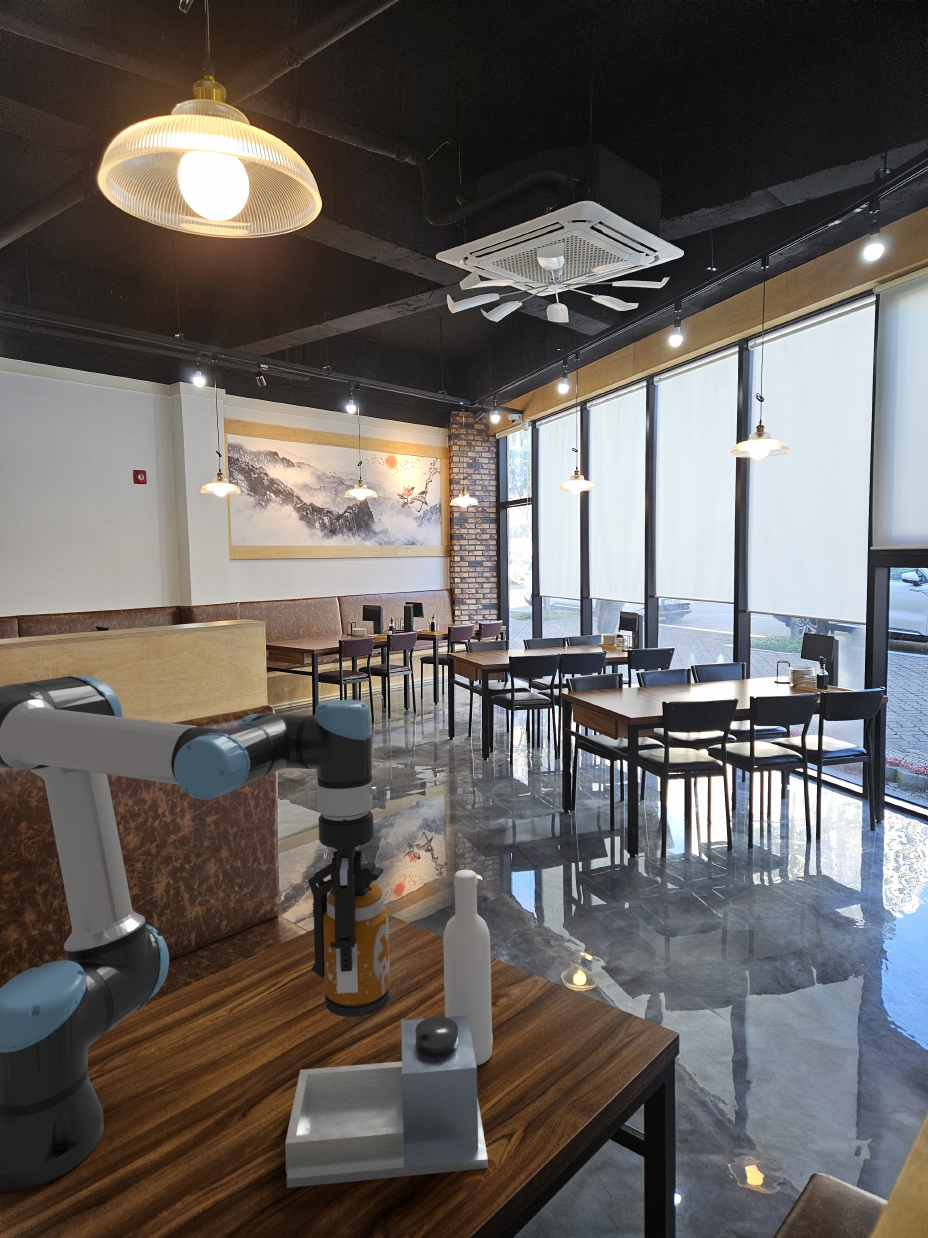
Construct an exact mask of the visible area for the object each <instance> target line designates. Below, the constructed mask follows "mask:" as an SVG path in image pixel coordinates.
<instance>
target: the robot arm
mask: <svg viewBox="0 0 928 1238" xmlns="http://www.w3.org/2000/svg"><path fill="white" fill-rule="evenodd" d="M122 708H123V707H122V704H121V701H120V698H119V697H118V695H117V693H116V692H115V690H113V689H112V688H111V686H110V685H108V684H107V683H105V682H104V681H102V680H101V679H99V678H97V677H94V676H89V675H69V676H62V677H56V678H50V679H42V680H35V681H27V682H19V683H18V682H17V683H10V684H5V685H2V686H0V767H2V768H8V769H16V770H22V771H23V770H24V771H25V770H30V771H31V773H33V774H35V775H36V776H39V777H40V778H42V780H43V781H44V784H45V790H46V795H47V801H48V806H49V807H48V808H49V811H50V817H51V823H52V827H53V833H54V839H55V844H56V849H57V854H58V860H59V864H60V865H59V866H60V871H61V876H62V881H63V885H64V893H65V897H66V904H67V909H68V915H69V919H70V924H71V933H70V934H69V936H68V937H67V939H66V941H65V942H64V944H63V950H64V955H65V959H64V960H63V959H62V960H54V961H49V962H45V963H42V965H40V966H38V967H36V966H33V967H31V968H29V969H26V970H24V971H22V972H20V973H19V974H17V975H16V976H14V977H13V978H11V979H9V980H8V981H7V982H6V983H5V984H4V985H2V986H1V987H0V1192H2V1193H4V1192H5V1193H12V1192H20V1191H25V1190H29V1189H33V1188H36V1187H38V1186H42V1185H45V1184H47V1183H50V1182H52V1181H53V1180H55V1179H58V1178H59V1177H61V1176H63V1175H65V1174H67V1173H68V1172H70V1171H71V1170H73V1169H74V1168H76V1167H77V1166H78V1165H80V1164H81V1163H82V1162H83V1161H84V1160H85V1159H86V1158H88V1157H89V1156H90V1154H91V1153H92V1152H93V1151H94V1150H95V1148H97V1146H98V1144H99V1142H100V1141H101V1138H102V1136H103V1133H104V1124H105V1121H104V1109H103V1107H102V1104H101V1102H100V1100H99V1098H98V1095H97V1093H96V1091H95V1088H94V1086H93V1084H92V1082H91V1080H90V1077H89V1067H88V1066H89V1065H88V1064H89V1063H88V1049H89V1047H90V1046H91V1045H92V1044H94V1043H95V1042H96V1041H98V1040H99V1039H100V1038H101V1037H103V1036H105V1034H107V1033H108V1032H110V1031H111V1030H112V1029H113V1028H115V1027H116V1026H117V1025H119V1024H120V1023H121V1022H123V1021H124V1020H125V1019H127V1018H128V1017H129V1016H131V1015H132V1014H133V1013H134V1012H137V1011H139V1010H140V1009H142V1008H143V1007H144V1006H145V1005H146V1004H147V1003H148V1002H149V1000H151V999H152V997H153V996H155V995H156V994H157V993H158V992H159V991H160V989H161V988H162V986H163V984H164V983H165V982H166V978H167V976H168V972H169V965H170V955H169V949H168V945H167V943H166V940H165V939H164V937H163V935H158V933H159V931H158V930H157V929H156V928H154V926H152V925H150V924H147V922H146V918H145V916H144V915H142V914H139V913H137V912H136V911H134V910H133V905H132V901H131V896H130V895H131V894H130V891H129V884H128V879H127V874H126V868H125V863H124V858H123V852H122V847H121V843H120V841H121V840H120V836H119V831H118V825H117V821H116V820H117V819H116V816H115V810H114V804H113V798H112V794H111V789H110V784H109V779H108V775H110V776H118V777H124V778H131V779H132V778H133V779H136V780H137V779H138V780H143V781H144V780H145V781H146V780H147V781H152V782H153V781H154V782H158V783H165V784H172V785H174V784H175V785H178V786H179V787H180V788H181V791H183V792H185V793H187V794H188V795H189V796H190V797H191V798H194V799H198V800H211V799H214V798H217V797H223V796H226V795H230V793H233V792H235V791H236V790H238V789H239V788H241V787H243V786H246V785H248V784H250V783H252V782H256V781H257V780H259V779H262V778H264V777H267V776H269V775H271V774H274V773H276V772H278V771H281V770H283V769H301V770H302V769H304V770H316V776H317V777H316V778H317V784H316V786H317V787H316V789H317V792H316V793H317V795H316V797H317V812H318V813H319V814H320V816H318V840H319V842H320V844H321V845H323V846H325V847H327V848H333V849H335V850H333V853H332V854H333V855H332V856H333V857H331V863H332V870H333V889H334V890H335V942H330V946H331V947H335V949H336V969H337V994H338V993H352V992H358V969H357V941H356V938H355V892H356V890H358V889H359V870H360V869H361V863H363V861H362V860H363V859H362V858H363V852H362V849H359V847H360V846H364V845H366V844H368V843H369V842H371V841H372V840H373V839H374V813H373V812H372V811H371V810H372V809H373V806H374V805H373V795H376V794H377V793H378V789H377V787H375V786H372V784H373V775H372V773H373V772H372V770H373V769H372V764H373V763H372V761H373V760H372V736H373V731H372V725H371V715H370V714H371V713H370V708H369V705H368V704H367V703H366V702H364V701H362V700H357V699H343V700H341V699H340V700H338V699H337V700H336V699H335V700H327V701H322V702H319V703H318V704H317V705H316V707H315V713H314V715H313V714H312V715H311V714H309V715H305V714H283V713H280V714H279V713H274V712H265V713H255V714H254V713H252V714H249V715H246V716H244V717H243V718H242V719H241V722H240V723H238V724H237V725H236V726H233V727H229V728H216V727H215V728H213V727H207V726H197V725H192V724H191V725H190V724H181V723H173V722H165V721H158V720H157V721H156V720H147V719H140V718H139V719H138V718H131V717H123V715H124V714H123V709H122ZM354 879H355V883H354Z"/></svg>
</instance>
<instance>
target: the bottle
mask: <svg viewBox="0 0 928 1238" xmlns="http://www.w3.org/2000/svg"><path fill="white" fill-rule="evenodd" d="M477 885H478V879H477V873H476V872H475V871H474V870H471V869H461V870H458V871H456V872H455V873H454V880H453V886H454V905H455V906H454V911H455V914H454V915H453V916H452V917H451V918H449V919H448V921H447V922H446V925H445V928H444V931H443V938H442V939H443V941H442V942H443V975H444V976H443V977H444V978H443V980H444V981H443V983H444V984H443V985H444V987H443V988H444V1017H454V1016H467V1015H468V1020H469V1026H470V1032H471V1037H472V1043H473V1049H474V1055H475V1060H476V1066H477V1067H478V1066H480V1065H482V1064H485V1063H486V1062H487V1061H489V1060H490V1059H491V1057H492V1054H493V1046H494V1045H493V1044H494V1040H493V1039H494V1038H493V1022H492V1020H493V1019H492V1016H493V1015H492V971H491V970H492V969H491V967H492V966H491V965H492V964H491V961H492V960H491V934H490V931H489V930H490V929H489V928H488V924H487V921H486V920H484V919H483V918H482V916H480V915H479V914H478V906H477V905H478V900H477V898H478V897H477V896H478V895H477V894H478V893H477V892H478V891H477V890H478V889H477Z"/></svg>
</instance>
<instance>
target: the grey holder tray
mask: <svg viewBox="0 0 928 1238" xmlns="http://www.w3.org/2000/svg"><path fill="white" fill-rule="evenodd" d="M400 1022H401V1023H400V1024H401V1033H400V1034H401V1036H400V1037H401V1061H392V1062H391V1061H390V1062H389V1061H388V1062H381V1063H380V1062H378V1063H367V1064H365V1063H364V1064H356V1065H343V1066H330V1067H320V1068H319V1067H318V1068H306V1069H300V1070H299V1075H298V1080H297V1084H296V1088H295V1089H296V1090H295V1094H294V1099H293V1105H292V1109H291V1115H290V1118H289V1124H288V1129H287V1133H286V1139H285V1144H284V1145H285V1147H284V1148H285V1175H286V1188H287V1189H288V1188H289V1189H291V1188H300V1187H307V1186H308V1187H309V1186H319V1185H321V1186H322V1185H331V1184H339V1183H349V1182H351V1183H352V1182H361V1181H369V1180H370V1181H373V1180H380V1179H381V1180H382V1179H389V1178H390V1179H391V1178H402V1177H409V1176H410V1177H411V1176H420V1175H421V1176H423V1175H431V1174H441V1173H442V1174H443V1173H450V1172H451V1173H452V1172H461V1171H474V1170H481V1169H488V1168H489V1160H488V1152H487V1147H486V1141H485V1136H484V1128H483V1121H482V1115H481V1111H480V1110H481V1109H480V1105H479V1099H478V1097H479V1096H478V1070H477V1069H478V1068H477V1067H478V1066H476V1060H475V1055H474V1049H473V1043H472V1037H471V1032H470V1026H469V1020H468V1015H467V1016H454V1017H445V1016H431V1017H426V1018H417V1019H406V1020H405V1019H403V1020H402V1019H401V1021H400Z"/></svg>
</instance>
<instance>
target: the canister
mask: <svg viewBox="0 0 928 1238" xmlns="http://www.w3.org/2000/svg"><path fill="white" fill-rule="evenodd" d="M376 866H377V865H376V863H375V862H371V861H369V862H361V869H360V870H359V889H358V890H356V892H355V938H356V941H357V969H358V992H352V993H338V994H337V969H336V949H335V947H331V946H330V942H335V890H334V889H333V870H332V862H331V863H329V864H327V865H326V866H324V867H323V868H321V869H319V870H318V871H316V872H315V873H314V874H313V876H312V877H310V878H309V879H307V882H308V883H307V884H308V885H309V888H310V890H311V893H312V898H313V899H312V900H313V903H312V914H313V915H312V917H313V936H314V938H313V939H314V940H313V941H314V943H313V944H314V946H313V947H314V963H313V965H312V967H311V969H310V970H311V971H312V972H313V973H315V974H316V975H318V976H319V977H320V978H321V979H324V1004H325V1007H326V1009H327V1010H328V1011H329V1012H330V1013H331V1014H332V1015H333V1014H334V1015H336V1016H337V1017H338V1016H340V1017H342V1018H361V1017H366V1016H369V1015H372V1014H375V1013H377V1012H379V1011H380V1010H382V1009H383V1008H384V1007H385V1006H387V1004H388V1003H389V1001H390V997H391V996H390V995H391V991H390V990H391V988H390V980H391V979H390V947H389V946H390V943H389V939H390V938H389V936H390V935H389V910H388V908H387V907H386V906H385V899H384V898H385V896H384V892H383V890H382V889H381V886H379V885H378V884H376V883H373V882H375V881H377V880H378V879H379V878H380V877H381V876H382V874H383V872H384V868H382V867H381V866H377V867H376ZM327 877H330V879H327V880H325V879H326V878H327ZM354 883H355V879H354ZM328 893H329V894H328Z"/></svg>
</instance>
